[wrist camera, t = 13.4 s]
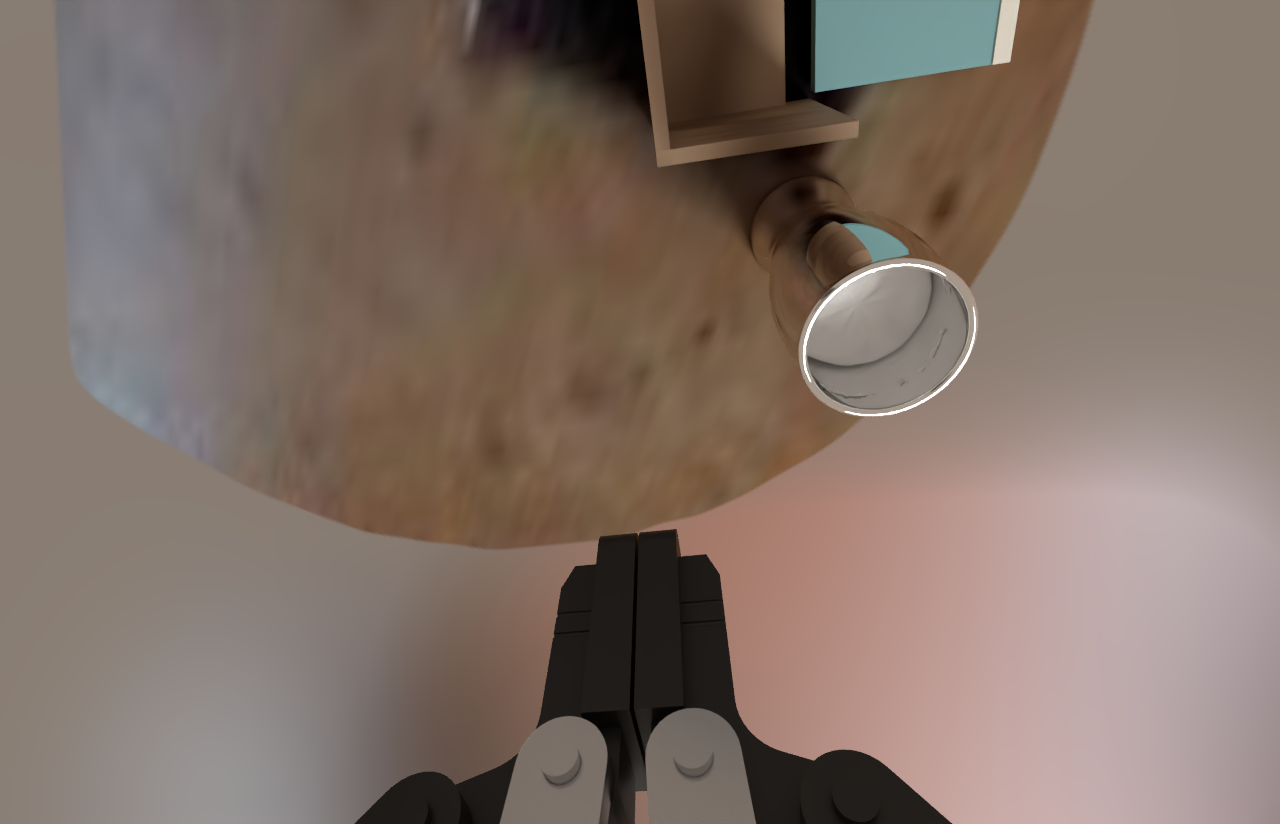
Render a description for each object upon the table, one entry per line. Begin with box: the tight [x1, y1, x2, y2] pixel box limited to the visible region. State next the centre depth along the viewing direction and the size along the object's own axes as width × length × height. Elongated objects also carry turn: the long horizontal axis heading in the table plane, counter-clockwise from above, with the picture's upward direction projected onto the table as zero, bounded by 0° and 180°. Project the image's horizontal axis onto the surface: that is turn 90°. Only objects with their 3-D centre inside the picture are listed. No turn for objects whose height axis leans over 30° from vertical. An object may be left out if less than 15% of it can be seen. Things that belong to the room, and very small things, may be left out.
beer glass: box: [751, 177, 979, 417], centre depth 29 cm, size 7×7×15 cm
